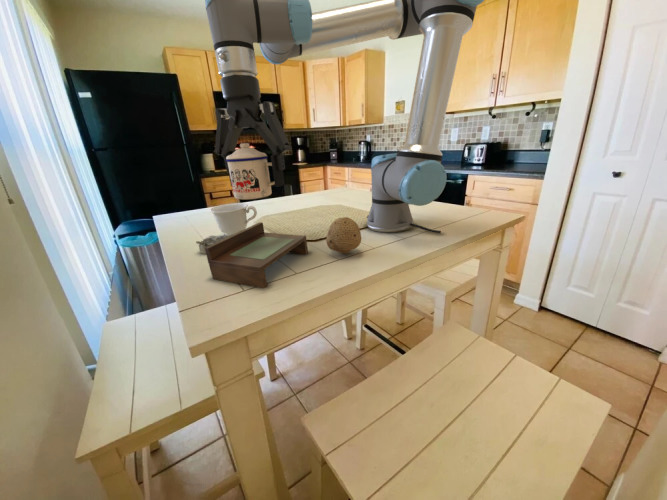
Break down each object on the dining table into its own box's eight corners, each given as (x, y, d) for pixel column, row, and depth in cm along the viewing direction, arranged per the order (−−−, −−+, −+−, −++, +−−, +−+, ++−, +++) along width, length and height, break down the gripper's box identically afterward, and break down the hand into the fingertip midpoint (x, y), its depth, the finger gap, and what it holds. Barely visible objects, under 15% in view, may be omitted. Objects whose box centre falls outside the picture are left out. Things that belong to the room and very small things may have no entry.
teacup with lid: (226, 200, 61) (214, 145, 57) (244, 192, 69) (235, 144, 65) (276, 199, 59) (267, 141, 54) (289, 191, 67) (283, 140, 63)
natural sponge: (369, 252, 72) (369, 216, 68) (345, 263, 67) (343, 225, 63) (346, 244, 79) (344, 211, 75) (322, 254, 73) (319, 218, 70)
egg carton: (197, 255, 80) (193, 242, 78) (208, 245, 87) (204, 233, 85) (233, 252, 79) (230, 239, 78) (241, 243, 86) (238, 230, 85)
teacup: (255, 239, 88) (250, 209, 85) (210, 242, 89) (203, 212, 85) (264, 228, 100) (260, 201, 96) (224, 230, 100) (218, 204, 96)
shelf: (308, 252, 75) (304, 225, 72) (264, 288, 59) (257, 254, 55) (264, 247, 81) (259, 222, 78) (212, 278, 64) (204, 247, 61)
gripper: (181, 83, 57) (206, 188, 65) (278, 63, 47) (293, 189, 55) (209, 87, 63) (229, 182, 71) (300, 71, 53) (310, 183, 62)
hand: (257, 185), depth 63 cm, fingers closed on teacup with lid, 12 cm apart
